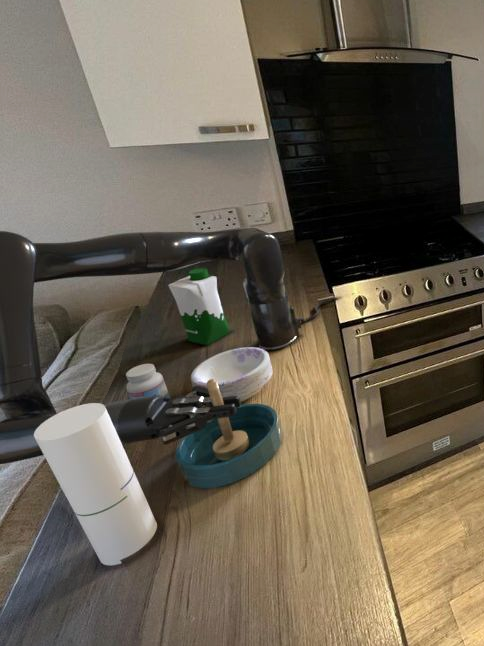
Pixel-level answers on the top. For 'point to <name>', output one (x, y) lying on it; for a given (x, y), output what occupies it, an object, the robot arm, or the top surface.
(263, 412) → the bowl
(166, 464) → the top surface
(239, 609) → the top surface
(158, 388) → the pill bottle
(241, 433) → the wooden peg on disc
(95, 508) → the cylindrical container
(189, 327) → the milk carton
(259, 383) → the paper bowls
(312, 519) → the top surface
